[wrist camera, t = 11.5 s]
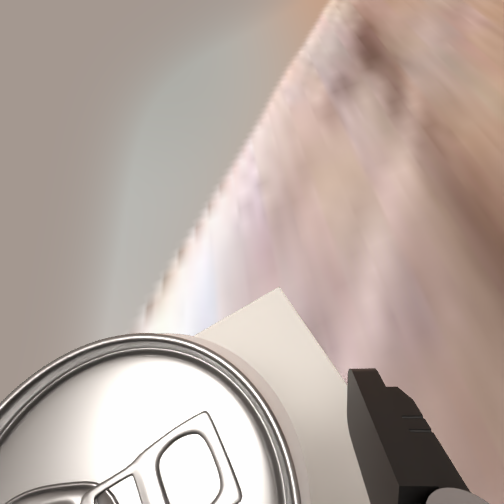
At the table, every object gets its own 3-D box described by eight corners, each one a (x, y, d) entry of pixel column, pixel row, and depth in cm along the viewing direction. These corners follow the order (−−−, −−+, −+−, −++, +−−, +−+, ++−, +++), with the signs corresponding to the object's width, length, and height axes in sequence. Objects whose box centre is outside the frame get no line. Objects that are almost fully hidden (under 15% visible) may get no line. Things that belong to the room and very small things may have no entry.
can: (120, 422, 16) (-132, 418, 5) (236, 360, 17) (220, 259, 7) (165, 580, 13) (-168, 1217, 3) (299, 490, 15) (433, 656, 4)
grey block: (279, 317, 25) (279, 286, 20) (385, 481, 19) (425, 498, 14) (135, 403, 22) (92, 394, 17) (210, 618, 17) (179, 699, 12)
